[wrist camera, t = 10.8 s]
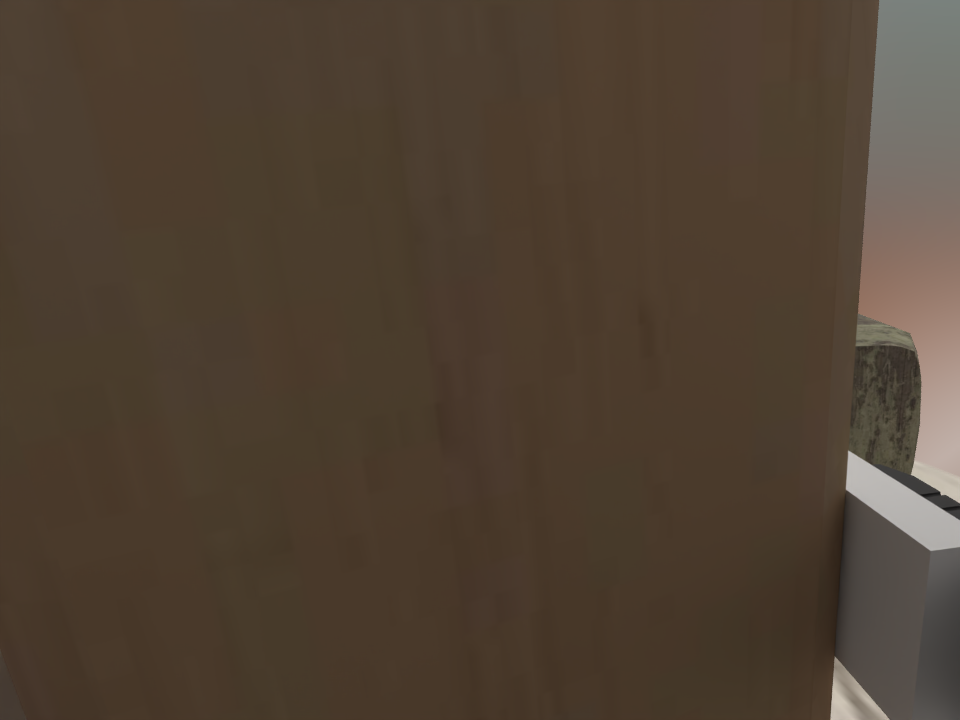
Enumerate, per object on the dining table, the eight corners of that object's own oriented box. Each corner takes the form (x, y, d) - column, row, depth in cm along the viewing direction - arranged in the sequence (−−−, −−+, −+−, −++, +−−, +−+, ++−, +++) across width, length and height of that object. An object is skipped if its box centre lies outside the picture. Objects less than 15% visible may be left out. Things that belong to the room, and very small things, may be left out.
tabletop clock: (854, 496, 55) (874, 206, 48) (921, 556, 46) (958, 212, 39) (687, 510, 56) (684, 225, 49) (723, 571, 47) (725, 236, 40)
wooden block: (261, 822, 18) (60, 55, 12) (575, 700, 21) (527, 39, 15) (271, 1478, 9) (-502, -382, 3) (830, 1093, 12) (943, -210, 6)
